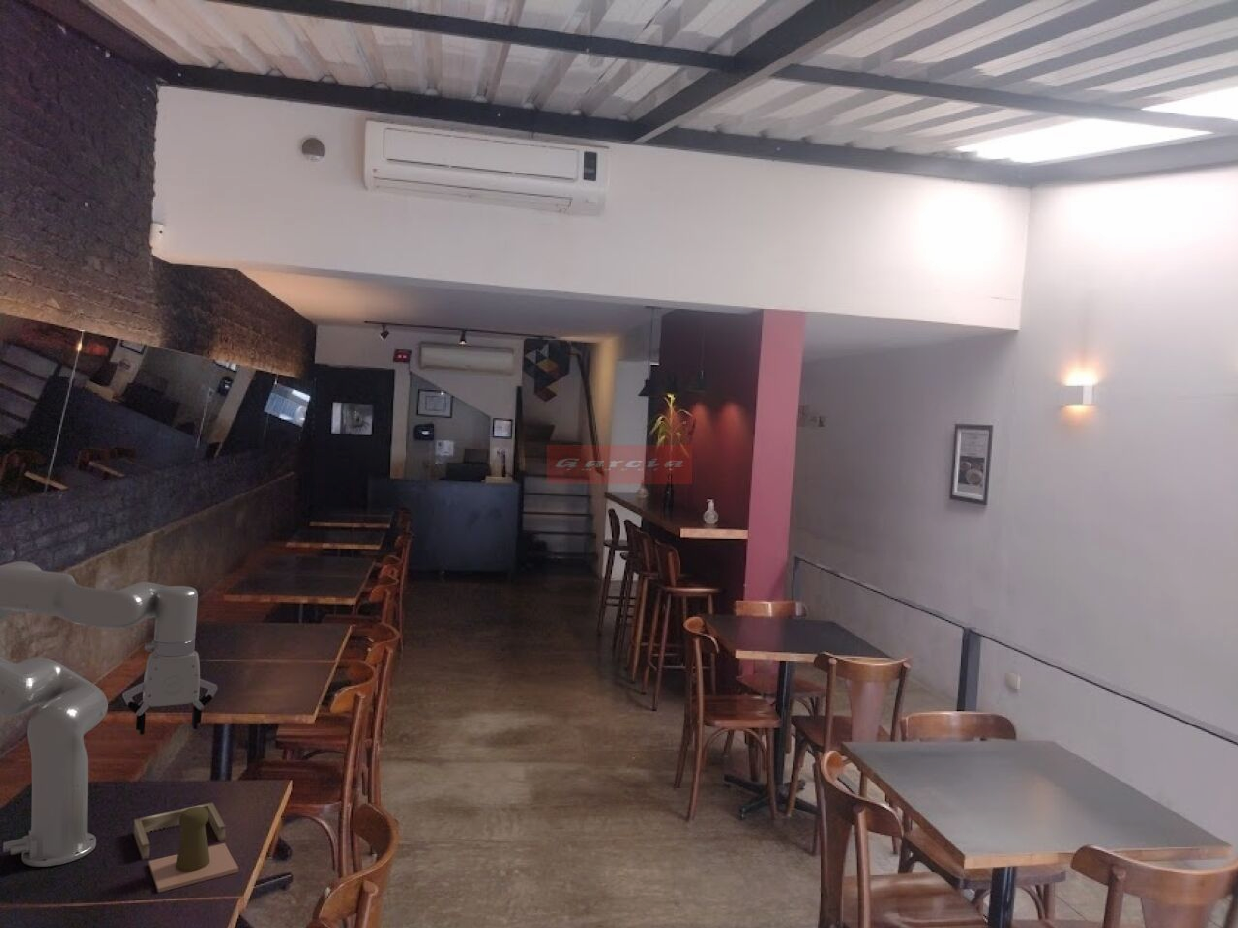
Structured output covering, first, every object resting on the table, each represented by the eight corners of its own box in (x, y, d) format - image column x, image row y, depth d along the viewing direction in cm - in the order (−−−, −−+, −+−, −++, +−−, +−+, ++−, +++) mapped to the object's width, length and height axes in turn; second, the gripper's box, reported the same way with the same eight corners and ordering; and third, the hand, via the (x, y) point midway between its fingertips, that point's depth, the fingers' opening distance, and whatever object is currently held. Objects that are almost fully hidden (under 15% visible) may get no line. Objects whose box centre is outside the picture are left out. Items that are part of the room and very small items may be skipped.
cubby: (142, 859, 170) (142, 844, 170) (133, 832, 180) (133, 819, 180) (225, 839, 179) (225, 825, 179) (212, 815, 190) (212, 802, 189)
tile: (158, 892, 158) (158, 888, 158) (148, 864, 168) (148, 860, 168) (238, 871, 167) (238, 867, 167) (224, 846, 176) (224, 842, 176)
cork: (196, 873, 164) (197, 818, 163) (168, 869, 165) (169, 814, 164) (216, 858, 170) (217, 804, 169) (189, 854, 171) (190, 801, 170)
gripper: (126, 655, 165) (120, 741, 165) (223, 649, 174) (217, 730, 175) (124, 645, 171) (118, 728, 172) (217, 640, 181) (212, 718, 181)
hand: (168, 729), depth 173 cm, fingers open, 9 cm apart
